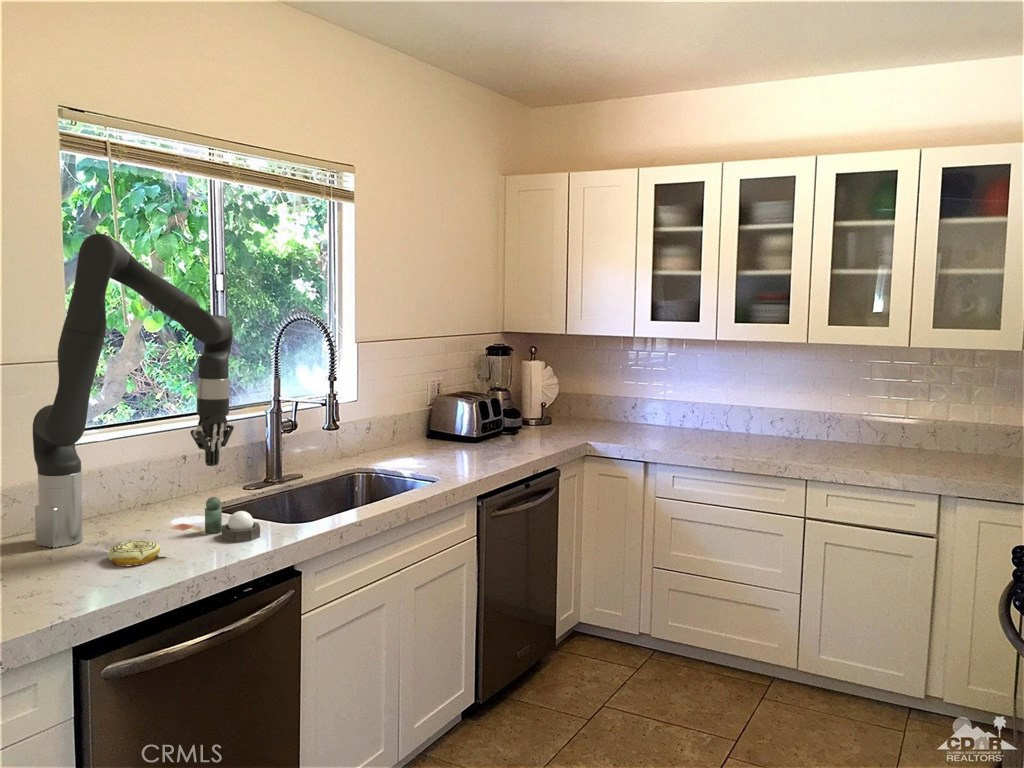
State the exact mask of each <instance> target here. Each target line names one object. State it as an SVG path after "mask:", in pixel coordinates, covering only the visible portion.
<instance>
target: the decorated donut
mask: <svg viewBox="0 0 1024 768" xmlns="http://www.w3.org/2000/svg"><path fill="white" fill-rule="evenodd" d="M160 552H161V546H160V544H158V543H157V542H155V541H152V540H148V539H137V540H136V539H133V540H132V539H130V540H126V541H122V542H118V543H116V544H114V545H113V546H112V547H111V548H110V550H109V552H108V554H107V555H108V557H107V558H108V560H109V561H112V563H114V564H115V565H116V564H119V565H118V566H120V565H135V564H142V563H146V562H148V563H150V562H149V561H151V562H153V561H154V560H156V559H157V558H158V556H159V554H160ZM152 560H153V561H152ZM142 565H143V564H142Z"/></svg>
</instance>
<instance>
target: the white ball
mask: <svg viewBox="0 0 1024 768" xmlns="http://www.w3.org/2000/svg"><path fill="white" fill-rule="evenodd" d="M253 522H254V519H253V516H252V515H251V514H250V513H249V512H247V511H245V510H238V511H236V512H234V513H232V514H231V515H230V517H229V519H228V522H227V524H228V527H229V529H230V530H236V531H238V530H249V529H251V528H252V527H253Z"/></svg>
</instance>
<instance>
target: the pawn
mask: <svg viewBox="0 0 1024 768" xmlns="http://www.w3.org/2000/svg"><path fill="white" fill-rule="evenodd" d="M221 506H222V501H221V500H220V498H219V497H216V496H211V497H208V498H207V500H206V501H205V508H204V527H205V533H206V534H205V535H208V534H217V535H219V534H218V533H220V534H222V533H221V532H222V525H223V515H222V514H223V513H222V511H223V510H222V509H223V508H222V507H221Z"/></svg>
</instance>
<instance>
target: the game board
mask: <svg viewBox="0 0 1024 768" xmlns="http://www.w3.org/2000/svg"><path fill="white" fill-rule="evenodd" d="M170 529H173V530H179V531H185V532H192V533H197V534H203V535H208V536H217V535H219V534H221V539H222V541H225V542H229V543H247V542H251V541H254V540H256V539H257V540H258V539H260V538H261V526H260V524H259V522H254V521H253V527H252V528H251V529H249V530H238V531H236V530H230V529H229V527H228V523H225V524H222V532H221V533H218V534H206V533H205V526H198V525H193V524H186V523H180V524H177V525H175V526H172V527H170Z"/></svg>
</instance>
